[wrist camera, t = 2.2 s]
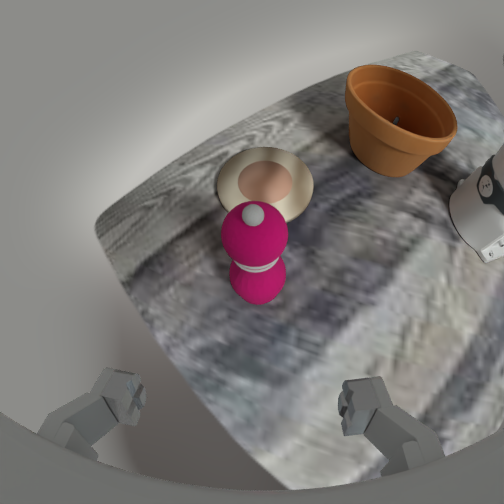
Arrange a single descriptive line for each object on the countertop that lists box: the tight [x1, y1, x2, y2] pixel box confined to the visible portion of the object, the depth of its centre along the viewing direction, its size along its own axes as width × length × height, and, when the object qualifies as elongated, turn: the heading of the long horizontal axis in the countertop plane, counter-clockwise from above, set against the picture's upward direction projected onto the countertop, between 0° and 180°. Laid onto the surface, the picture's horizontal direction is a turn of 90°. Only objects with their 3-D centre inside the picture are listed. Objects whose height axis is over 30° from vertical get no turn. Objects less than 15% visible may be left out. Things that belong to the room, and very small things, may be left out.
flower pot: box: [345, 65, 457, 177], centre depth 42 cm, size 21×21×15 cm
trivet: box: [217, 147, 313, 223], centre depth 46 cm, size 16×16×1 cm
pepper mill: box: [221, 201, 288, 304], centre depth 30 cm, size 7×7×20 cm
